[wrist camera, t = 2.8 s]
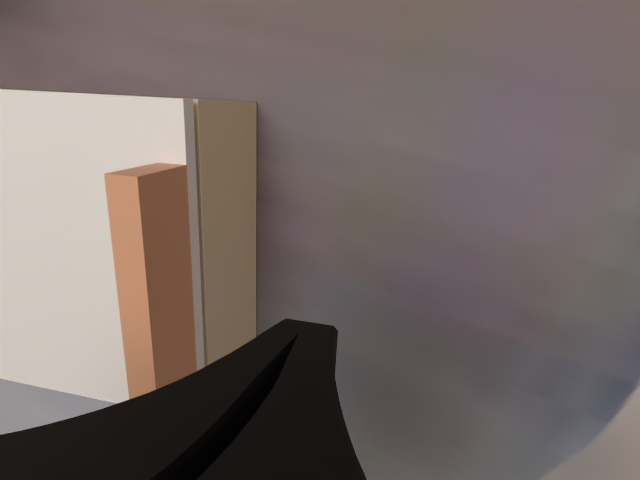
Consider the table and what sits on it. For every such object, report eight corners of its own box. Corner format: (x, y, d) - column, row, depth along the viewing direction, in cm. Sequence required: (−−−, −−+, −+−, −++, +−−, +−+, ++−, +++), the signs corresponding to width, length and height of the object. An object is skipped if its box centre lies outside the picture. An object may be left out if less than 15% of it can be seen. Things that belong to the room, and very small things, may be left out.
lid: (206, 410, 17) (163, 472, 14) (-68, 353, 20) (-152, 395, 17) (193, 99, 13) (130, 96, 10) (-143, 81, 16) (-267, 75, 13)
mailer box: (256, 339, 22) (210, 405, 17) (34, 302, 25) (-61, 350, 20) (256, 102, 18) (197, 99, 13) (-5, 88, 21) (-134, 82, 16)
